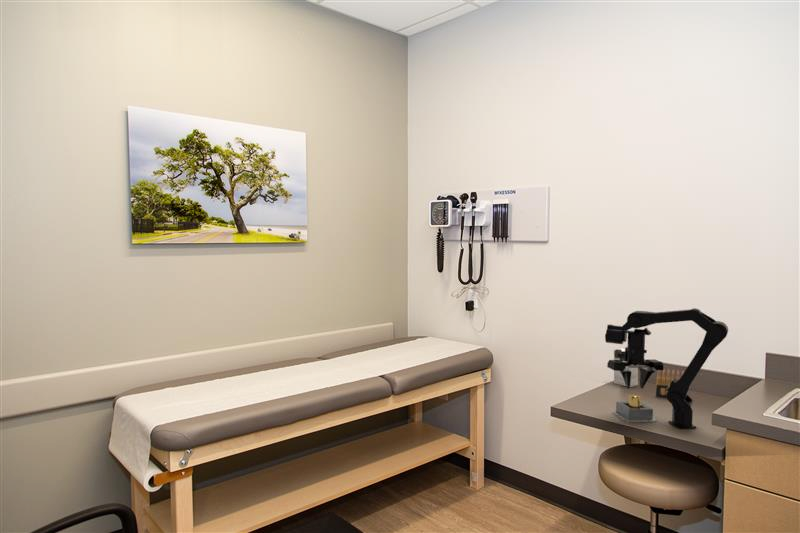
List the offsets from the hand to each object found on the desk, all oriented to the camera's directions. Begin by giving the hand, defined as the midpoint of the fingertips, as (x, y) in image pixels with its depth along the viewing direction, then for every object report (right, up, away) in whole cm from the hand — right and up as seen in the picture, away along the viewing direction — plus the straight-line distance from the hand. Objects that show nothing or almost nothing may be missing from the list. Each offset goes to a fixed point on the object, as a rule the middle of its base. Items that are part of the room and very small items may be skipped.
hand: (634, 388), depth 192 cm
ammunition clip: (+26, -10, +25) cm, 37 cm away
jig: (0, -11, +1) cm, 10 cm away
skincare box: (+16, -9, +45) cm, 49 cm away
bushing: (0, -10, +1) cm, 10 cm away
